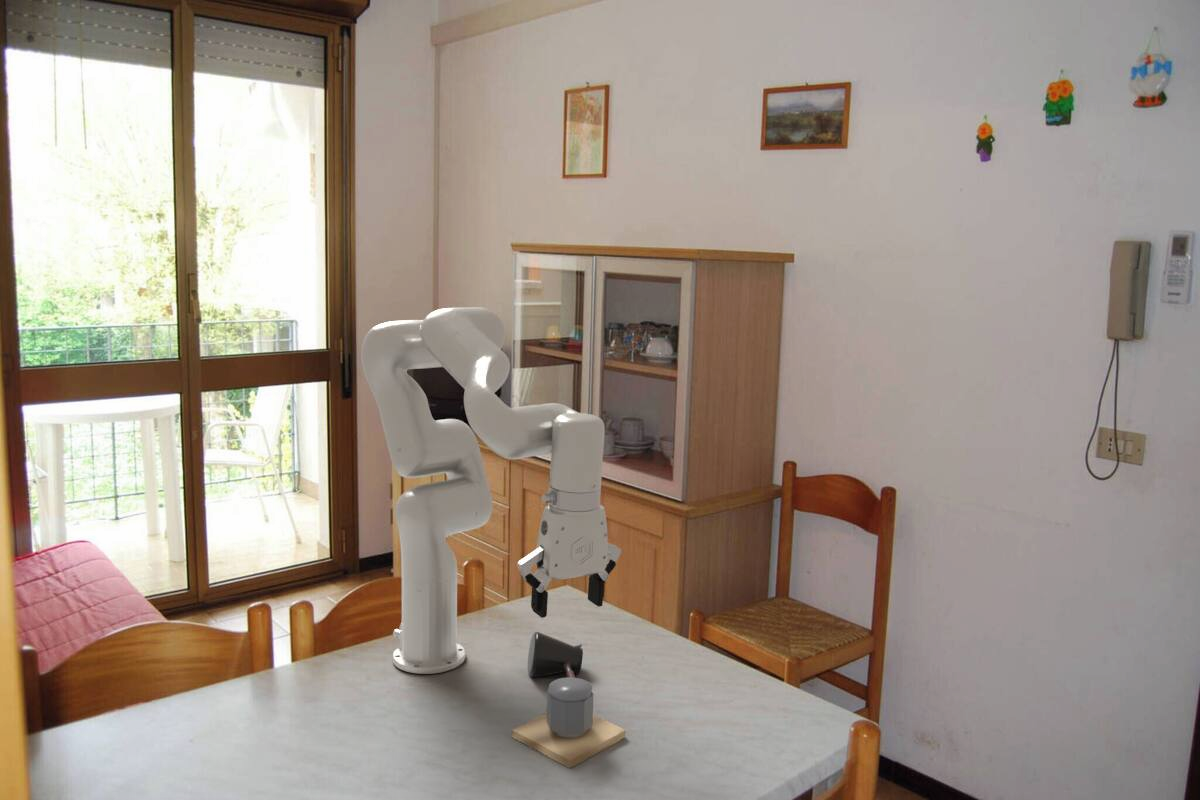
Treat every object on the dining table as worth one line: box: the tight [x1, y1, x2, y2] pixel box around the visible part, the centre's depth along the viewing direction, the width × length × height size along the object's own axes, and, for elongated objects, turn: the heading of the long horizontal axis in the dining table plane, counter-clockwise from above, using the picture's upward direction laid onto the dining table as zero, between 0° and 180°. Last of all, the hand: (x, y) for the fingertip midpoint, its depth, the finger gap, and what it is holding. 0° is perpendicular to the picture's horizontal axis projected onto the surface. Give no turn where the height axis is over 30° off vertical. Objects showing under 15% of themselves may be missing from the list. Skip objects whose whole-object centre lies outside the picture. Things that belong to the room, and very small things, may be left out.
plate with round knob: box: [511, 712, 627, 769], centre depth 137 cm, size 12×12×7 cm
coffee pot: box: [527, 631, 584, 678], centre depth 154 cm, size 8×18×8 cm
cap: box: [546, 677, 594, 735], centre depth 137 cm, size 6×6×6 cm
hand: (567, 608), depth 138 cm, fingers open, 9 cm apart
